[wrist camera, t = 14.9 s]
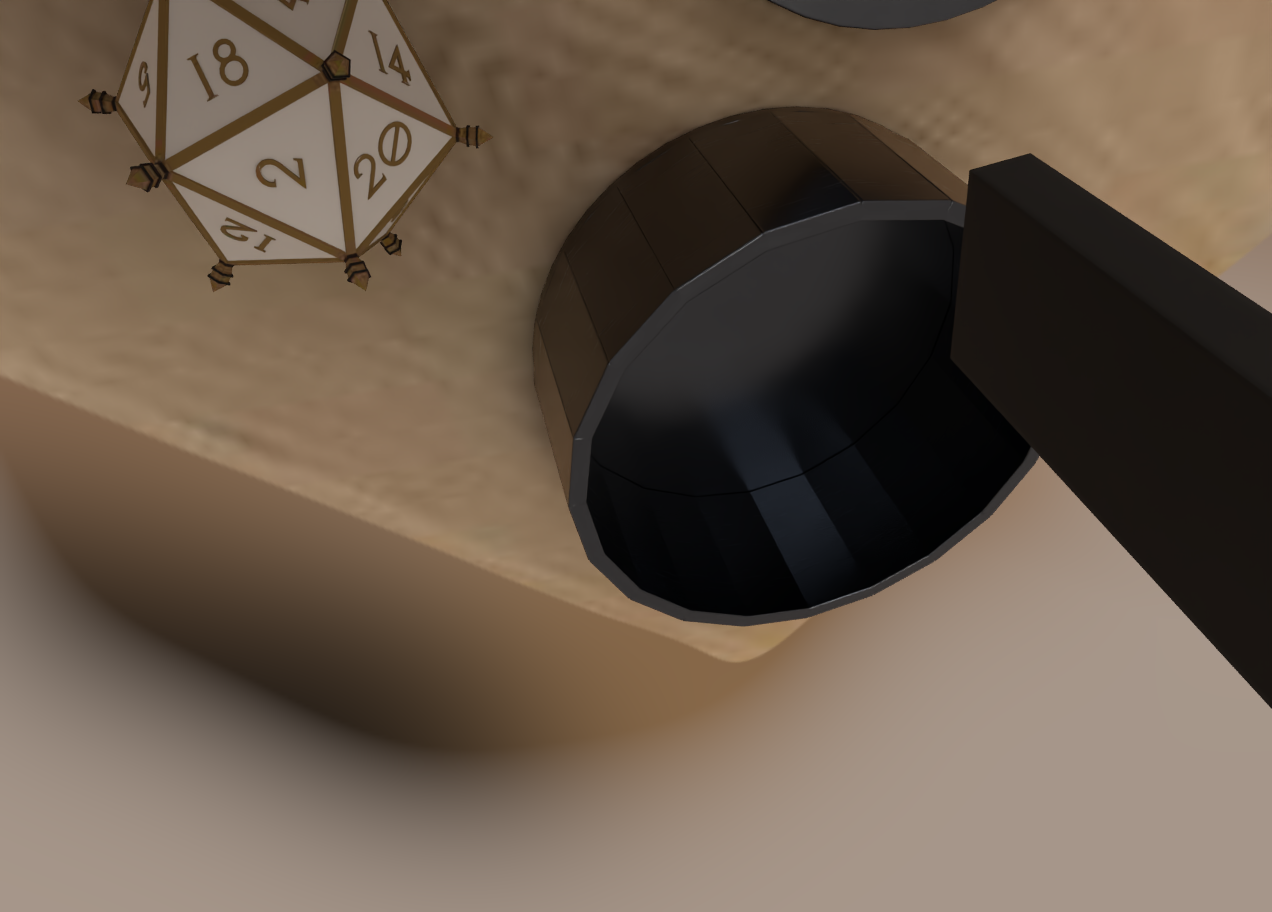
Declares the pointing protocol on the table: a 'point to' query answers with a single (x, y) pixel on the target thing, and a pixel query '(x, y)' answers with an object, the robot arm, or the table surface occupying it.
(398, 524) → the table surface
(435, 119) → the game die
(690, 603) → the pan
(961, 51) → the table surface
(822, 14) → the pan lid
